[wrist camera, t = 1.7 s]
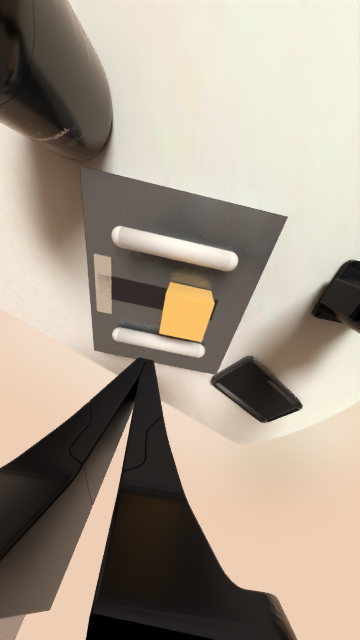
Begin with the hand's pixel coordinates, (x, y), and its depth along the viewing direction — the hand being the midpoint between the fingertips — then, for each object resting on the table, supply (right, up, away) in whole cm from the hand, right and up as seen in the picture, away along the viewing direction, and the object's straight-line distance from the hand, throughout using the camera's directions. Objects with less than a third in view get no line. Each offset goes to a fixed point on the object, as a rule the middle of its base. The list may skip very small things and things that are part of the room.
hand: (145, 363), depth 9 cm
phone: (+15, -9, +19) cm, 25 cm away
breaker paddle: (+3, +4, +8) cm, 9 cm away
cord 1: (0, 0, +10) cm, 10 cm away
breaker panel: (+1, +6, +10) cm, 12 cm away
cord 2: (+2, +9, +5) cm, 10 cm away
